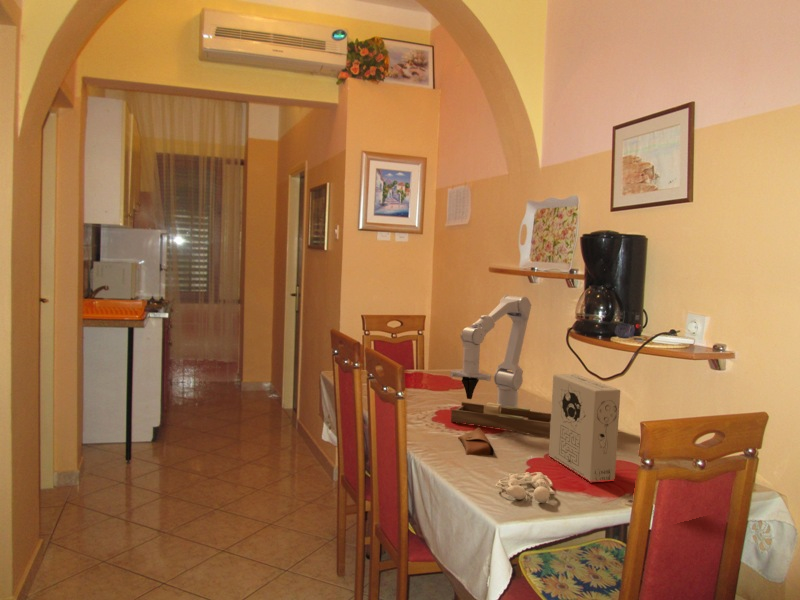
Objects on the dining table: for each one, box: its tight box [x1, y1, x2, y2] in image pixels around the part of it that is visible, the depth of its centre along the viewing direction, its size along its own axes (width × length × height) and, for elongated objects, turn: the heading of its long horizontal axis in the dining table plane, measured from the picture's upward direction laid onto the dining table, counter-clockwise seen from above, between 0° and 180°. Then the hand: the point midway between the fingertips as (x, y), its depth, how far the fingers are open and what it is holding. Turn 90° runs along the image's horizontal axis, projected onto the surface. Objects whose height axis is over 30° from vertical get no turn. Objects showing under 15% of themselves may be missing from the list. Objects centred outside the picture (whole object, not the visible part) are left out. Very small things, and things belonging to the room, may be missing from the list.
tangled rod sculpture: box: [495, 471, 556, 503], centre depth 157 cm, size 19×14×4 cm
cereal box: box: [548, 373, 621, 481], centre depth 172 cm, size 22×8×25 cm, turn 17°
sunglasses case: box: [457, 426, 495, 456], centre depth 191 cm, size 18×7×7 cm, turn 4°
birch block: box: [483, 402, 501, 416], centre depth 217 cm, size 5×5×4 cm
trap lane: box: [450, 401, 551, 438], centre depth 215 cm, size 13×34×5 cm, turn 67°
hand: (469, 398), depth 220 cm, fingers closed
